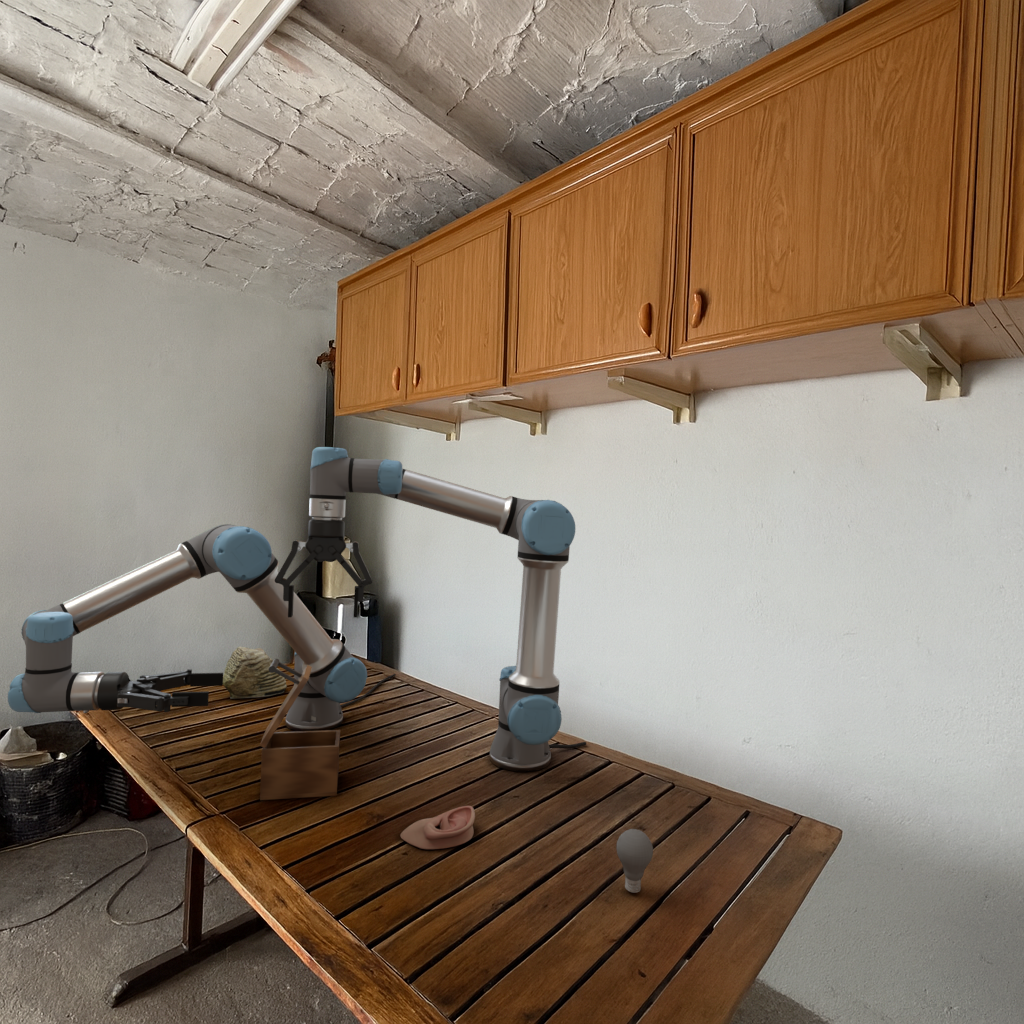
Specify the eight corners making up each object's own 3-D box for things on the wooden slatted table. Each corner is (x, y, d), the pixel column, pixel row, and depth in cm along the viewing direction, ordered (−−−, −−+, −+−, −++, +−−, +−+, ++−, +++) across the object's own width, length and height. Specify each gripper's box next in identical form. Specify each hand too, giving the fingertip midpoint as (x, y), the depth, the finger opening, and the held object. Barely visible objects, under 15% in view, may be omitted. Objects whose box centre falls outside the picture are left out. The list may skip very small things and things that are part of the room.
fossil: (218, 695, 195) (220, 647, 195) (278, 685, 208) (279, 640, 207) (228, 703, 189) (230, 653, 188) (289, 692, 201) (290, 645, 201)
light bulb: (610, 879, 108) (613, 822, 108) (644, 879, 109) (647, 822, 109) (619, 902, 102) (622, 840, 102) (655, 901, 103) (658, 840, 103)
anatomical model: (394, 823, 116) (416, 795, 127) (393, 844, 116) (415, 814, 128) (464, 834, 114) (480, 804, 125) (463, 855, 114) (479, 824, 125)
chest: (338, 775, 144) (340, 729, 144) (336, 795, 135) (338, 746, 134) (266, 779, 141) (268, 732, 140) (259, 800, 131) (261, 749, 131)
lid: (312, 667, 142) (279, 649, 140) (308, 679, 133) (274, 660, 131) (271, 730, 140) (238, 713, 139) (264, 748, 131) (228, 729, 129)
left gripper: (124, 690, 141) (227, 688, 145) (74, 732, 116) (200, 727, 121) (125, 657, 140) (228, 655, 145) (76, 691, 116) (201, 688, 121)
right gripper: (263, 517, 131) (259, 619, 131) (386, 521, 137) (382, 619, 137) (268, 516, 138) (265, 612, 139) (385, 520, 144) (381, 613, 144)
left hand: (216, 688), depth 133 cm, fingers open, 13 cm apart
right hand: (323, 616), depth 138 cm, fingers open, 13 cm apart
